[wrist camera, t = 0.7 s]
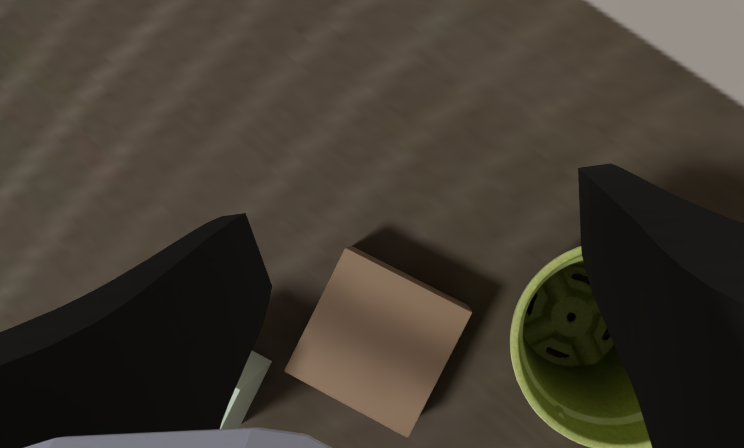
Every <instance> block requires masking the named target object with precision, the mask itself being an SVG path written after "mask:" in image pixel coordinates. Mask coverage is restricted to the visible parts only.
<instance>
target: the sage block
mask: <svg viewBox="0 0 744 448" xmlns="http://www.w3.org/2000/svg"><path fill="white" fill-rule="evenodd" d="M271 362H272V361H271V360H269V359H267V358H265V357H263V356H261V355H259V354H258V353H256V352H254V351H251V353H250V356H249V358H248V360H247V363H246V365H245V367H244V370H243V372H242V374H241V377H240V379H239V381H238V384H237V386H236V388H235V390H234V393H233V395H232V397H231V400H230V402H229V405H228V407H227V410H226V412H225V415H224V418H223V420H222V423H221V427H220V429H234V428H238V427H239V426H240V425H241V423H242V421H243V419H244V417H245V415H246V413H247V411H248V409H249V407H250V405H251V403H252V401H253V399H254V397H255V395H256V393H257V391H258V389H259V387H260V385H261V383H262V381H263V379H264V377H265V375H266V373H267V371H268V369H269V367H270V364H271Z"/></svg>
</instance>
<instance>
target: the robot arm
mask: <svg viewBox="0 0 744 448" xmlns="http://www.w3.org/2000/svg"><path fill="white" fill-rule="evenodd" d="M578 175H579V200H580V225H581V251H582V257H583V261H584V265H585V269H586V273H587V276H588V280H589V284H590V287H591V291H592V294H593V296H594V299H595V301H596V303H597V306H598V308H599V310H600V313H601V315H602V317H603V320H604V322H605V324H606V326H607V329H608V331H609V333H610V336H611V338H612V340H613V342H614V345H615V347H616V349H617V352H618V354H619V356H620V358H621V361H622V363H623V365H624V368H625V370H626V372H627V374H628V377H629V379H630V381H631V384H632V387H633V389H634V392H635V395H636V397H637V400H638V403H639V406H640V409H641V413H642V416H643V419H644V422H645V426H646V429H647V432H648V435H649V439H650V442H651V445H652V448H744V223H741V222H738V221H735V220H732V219H730V218H727V217H724V216H722V215H719V214H717V213H714V212H712V211H709V210H707V209H705V208H702V207H700V206H697V205H695V204H693V203H690V202H688V201H686V200H684V199H682V198H679V197H677V196H675V195H673V194H671V193H669V192H667V191H665V190H663V189H661V188H659V187H657V186H655V185H653V184H651V183H649V182H647V181H645V180H643V179H642V178H640V177H638V176H636V175H634V174H632V173H630V172H628V171H626V170H624V169H622V168H620V167H618V166H616V165H613V164H604V165H597V166H589V167H582V168H578ZM271 289H272V285H271V282H270V279H269V276H268V274H267V271H266V268H265V265H264V263H263V260H262V257H261V254H260V252H259V249H258V246H257V243H256V241H255V238H254V235H253V232H252V230H251V227H250V224H249V221H248V219H247V216H246V213H244V214H236V215H229V216H222V217H219V218H217V219H214V220H212V221H210V222H208V223H206V224H204V225H203V226H201V227H199V228H197V229H196V230H194V231H192V232H191V233H189V234H187V235H186V236H184V237H183V238H181V239H179V240H178V241H176V242H175V243H173V244H171V245H170V246H168V247H167V248H165V249H164V250H162V251H160V252H159V253H157V254H156V255H154V256H152V257H151V258H149V259H148V260H146V261H144V262H143V263H141V264H139V265H137V266H136V267H134V268H132V269H131V270H129V271H127V272H126V273H124V274H122V275H121V276H119V277H117V278H116V279H114V280H112V281H110V282H109V283H107V284H105V285H103V286H101V287H100V288H98V289H96V290H94V291H92V292H90V293H88V294H86V295H84V296H82V297H80V298H78V299H76V300H74V301H72V302H70V303H68V304H66V305H64V306H62V307H60V308H57V309H55V310H53V311H51V312H48V313H46V314H43V315H41V316H39V317H36V318H34V319H32V320H29V321H27V322H24V323H22V324H20V325H17V326H15V327H13V328H10V329H8V330H5V331H2V332H0V448H331V447H329V446H327V445H326V444H324V443H322V442H320V441H318V440H316V439H314V438H312V437H310V436H309V435H307V434H303V433H295V432H288V431H281V430H274V429H267V428H260V427H255V428H234V429H220V427H221V423H222V420H223V418H224V415H225V412H226V410H227V407H228V405H229V402H230V400H231V397H232V395H233V393H234V390H235V388H236V386H237V384H238V381H239V379H240V377H241V374H242V372H243V370H244V367H245V365H246V363H247V360H248V358H249V356H250V353H251V351H252V349H253V346H254V344H255V342H256V339H257V337H258V334H259V332H260V329H261V327H262V324H263V322H264V318H265V314H266V310H267V307H268V302H269V298H270V294H271Z"/></svg>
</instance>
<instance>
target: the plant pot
mask: <svg viewBox="0 0 744 448" xmlns="http://www.w3.org/2000/svg"><path fill="white" fill-rule="evenodd" d="M573 274H581V275H583V276H586V277H588V276H587V273H586V269H585V265H584V261H583V257H582V251H581V246H578V247H576V248H573V249H571V250H569V251H567V252H565V253H563V254H561V255H559V256H558V257H556V258H555V259H553V260H552V261H550V262H549V263H548V264H546V265H545V266H544V267H543V268H542V269H541V270H540V271H539V272H538V273H537V274H536V275H535V276H534V277H533V278H532V280H531V281H530V282H529V284H528V285H527V286H526V288H525V290H524V291H523V293H522V295H521V297H520V299H519V301H518V303H517V306H516V309H515V312H514V315H513V319H512V324H511V332H510V352H511V360H512V365H513V369H514V372H515V375H516V378H517V381H518V383H519V386H520V388H521V390H522V392H523V394H524V396H525V397H526V399H527V401H528V402H529V404H530V405H531V407H532V408H533V409H534V411H535V412H536V413H537V414H538V415H539V416H540V417H541V418H542V419H543V420H544V421H545V422H546V423H547V424H548V425H549V426H551V427H552V428H553V429H554V430H556V431H557V432H559V433H560V434H562V435H564V436H565V437H567V438H569V439H571V440H573V441H575V442H577V443H579V444H582V445H584V446H588V447H592V448H652V445H651V442H650V439H649V435H648V432H647V429H646V426H645V422H644V419H643V416H642V413H641V409H640V406H639V403H638V400H637V397H636V395H635V392H634V389H633V387H632V384H631V381H630V379H629V377H628V374H627V372H626V370H625V368H624V365H623V363H622V361H621V358H620V356H619V354H618V352H617V349H616V347H615V345H614V342H613V340H612V338H611V336H610V337H609V338H608V339H607V340H603V338H602V337H603V335H604V333H605V331H606V328H607V326H606V324H605V322H604V320H603V317H602V315H601V313H600V310H599V308H598V306H597V303H596V301H595V299H594V296H593V294H592V291H591V287H590V285H589V284H587V283H585V282H583V281H580V280H574V279H572V278H571V276H572V275H573ZM535 294H537V297H536V299H535V302H534V305H533V308H532V312H531V315H528V313H527V308H528V306H529V304H530V301H531V299H532V298H533V296H534V295H535ZM569 313H574V314H575V316H576V318H575V320H574V321H572V322H570V321H568V319H567V315H568V314H569ZM547 347H551V348H552V349H554V350H556V351H558V352H561V353H565V354H568V355H569V357H566V358H559V357H555V356H553V355H551V354H549V353H548V352H547V351H546V349H547Z"/></svg>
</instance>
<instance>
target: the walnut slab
mask: <svg viewBox="0 0 744 448" xmlns="http://www.w3.org/2000/svg"><path fill="white" fill-rule="evenodd" d="M471 314H472V311H471V309H470V307H469V306H468V305H466V304H464V303H462V302H461V301H459V300H457V299H455V298H453V297H451V296H449V295H447V294H445V293H443V292H441V291H439V290H437V289H435V288H433V287H431V286H429V285H427V284H425V283H423V282H421V281H419V280H417V279H416V278H414V277H412V276H410V275H408V274H406V273H404V272H402V271H400V270H398V269H396V268H394V267H392V266H390V265H388V264H386V263H384V262H382V261H380V260H378V259H376V258H374V257H372V256H370V255H369V254H367V253H365V252H363V251H361V250H359V249H357V248H355V247H353V246H350V247H347V248H345V250H344V252H343V254H342V256H341V258H340V260H339V262H338V264H337V266H336V268H335V270H334V272H333V274H332V276H331V278H330V280H329V282H328V284H327V286H326V288H325V290H324V292H323V294H322V296H321V298H320V300H319V302H318V304H317V306H316V308H315V310H314V312H313V314H312V316H311V318H310V320H309V322H308V324H307V326H306V328H305V330H304V332H303V334H302V336H301V338H300V340H299V342H298V344H297V346H296V348H295V350H294V352H293V354H292V356H291V358H290V360H289V362H288V364H287V366H286V368H285V370H284V372H286V373H288V374H290V375H292V376H294V377H295V378H297V379H299V380H301V381H303V382H305V383H307V384H308V385H310V386H312V387H314V388H316V389H318V390H320V391H321V392H323V393H325V394H327V395H329V396H331V397H333V398H334V399H336V400H338V401H340V402H342V403H344V404H346V405H347V406H349V407H351V408H353V409H355V410H357V411H359V412H360V413H362V414H364V415H366V416H368V417H370V418H372V419H374V420H375V421H377V422H379V423H381V424H383V425H385V426H387V427H388V428H390V429H392V430H394V431H396V432H398V433H400V434H401V435H403V436H405V437H407V438H408V437H409V435H410V433H411V431H412V429H413V427H414V425H415V423H416V421H417V419H418V417H419V415H420V413H421V411H422V409H423V407H424V406H425V404H426V402H427V400H428V398H429V396H430V394H431V392H432V390H433V388H434V386H435V384H436V382H437V380H438V378H439V376H440V374H441V372H442V370H443V369H444V367H445V365H446V363H447V361H448V359H449V357H450V355H451V353H452V351H453V349H454V347H455V345H456V343H457V341H458V339H459V337H460V335H461V334H462V332H463V330H464V328H465V326H466V324H467V322H468V320H469V318H470V316H471Z"/></svg>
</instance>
